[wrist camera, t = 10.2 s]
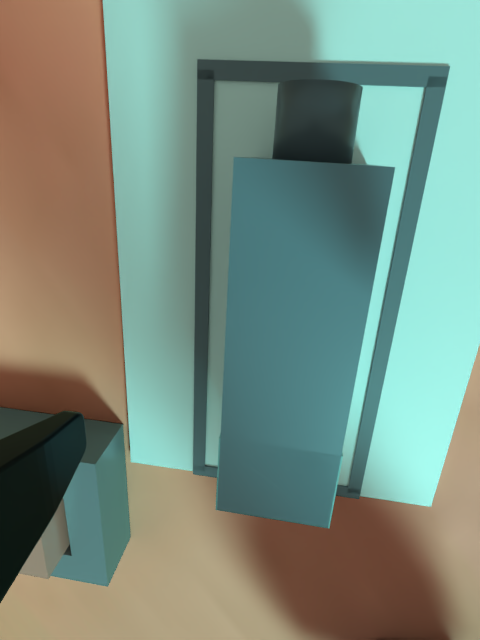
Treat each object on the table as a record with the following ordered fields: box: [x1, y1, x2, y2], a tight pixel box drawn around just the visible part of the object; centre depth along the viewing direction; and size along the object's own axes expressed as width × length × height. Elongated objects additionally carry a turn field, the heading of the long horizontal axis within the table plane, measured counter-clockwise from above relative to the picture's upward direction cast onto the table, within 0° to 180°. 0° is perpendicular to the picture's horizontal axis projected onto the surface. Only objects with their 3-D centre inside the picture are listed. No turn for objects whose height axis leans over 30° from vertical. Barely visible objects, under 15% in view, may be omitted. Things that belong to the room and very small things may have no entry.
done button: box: [19, 499, 70, 579], centre depth 20 cm, size 4×4×3 cm
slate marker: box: [216, 79, 395, 528], centre depth 14 cm, size 14×4×5 cm, turn 177°
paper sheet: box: [103, 0, 480, 507], centre depth 17 cm, size 20×15×1 cm
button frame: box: [0, 407, 130, 586], centre depth 22 cm, size 8×8×3 cm
